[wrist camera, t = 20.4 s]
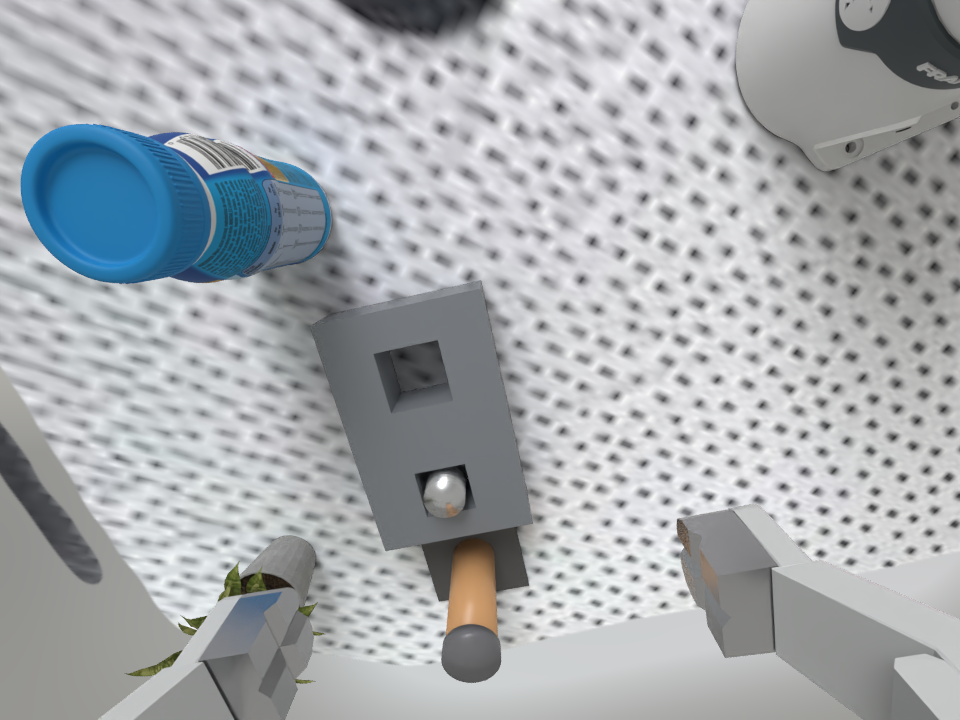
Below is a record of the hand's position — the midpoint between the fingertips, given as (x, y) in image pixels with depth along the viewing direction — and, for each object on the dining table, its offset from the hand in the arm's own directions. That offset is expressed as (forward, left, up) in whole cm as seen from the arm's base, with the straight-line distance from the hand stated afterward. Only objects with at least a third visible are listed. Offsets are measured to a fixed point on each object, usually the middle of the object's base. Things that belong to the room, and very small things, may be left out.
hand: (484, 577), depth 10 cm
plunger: (+7, +15, -32) cm, 36 cm away
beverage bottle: (+15, -11, -33) cm, 38 cm away
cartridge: (+7, +26, -32) cm, 42 cm away
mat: (+7, +26, -33) cm, 42 cm away
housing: (+7, +9, -33) cm, 35 cm away
